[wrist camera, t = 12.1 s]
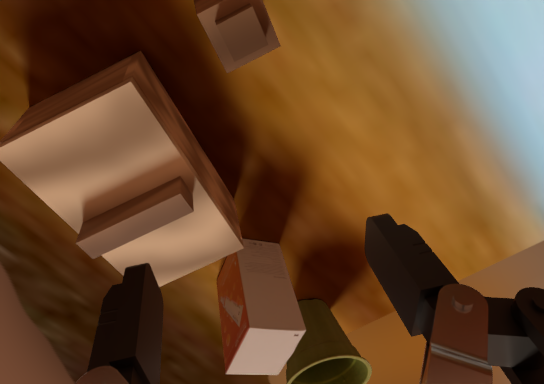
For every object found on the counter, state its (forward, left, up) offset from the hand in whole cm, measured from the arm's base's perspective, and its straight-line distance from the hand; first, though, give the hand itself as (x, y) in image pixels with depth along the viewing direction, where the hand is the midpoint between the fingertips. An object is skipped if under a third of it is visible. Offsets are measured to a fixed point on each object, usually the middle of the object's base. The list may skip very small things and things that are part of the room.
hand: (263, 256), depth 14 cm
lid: (+5, -10, -17) cm, 21 cm away
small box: (+24, -8, -25) cm, 35 cm away
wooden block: (-4, +3, -25) cm, 25 cm away
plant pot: (+39, -5, -25) cm, 47 cm away
